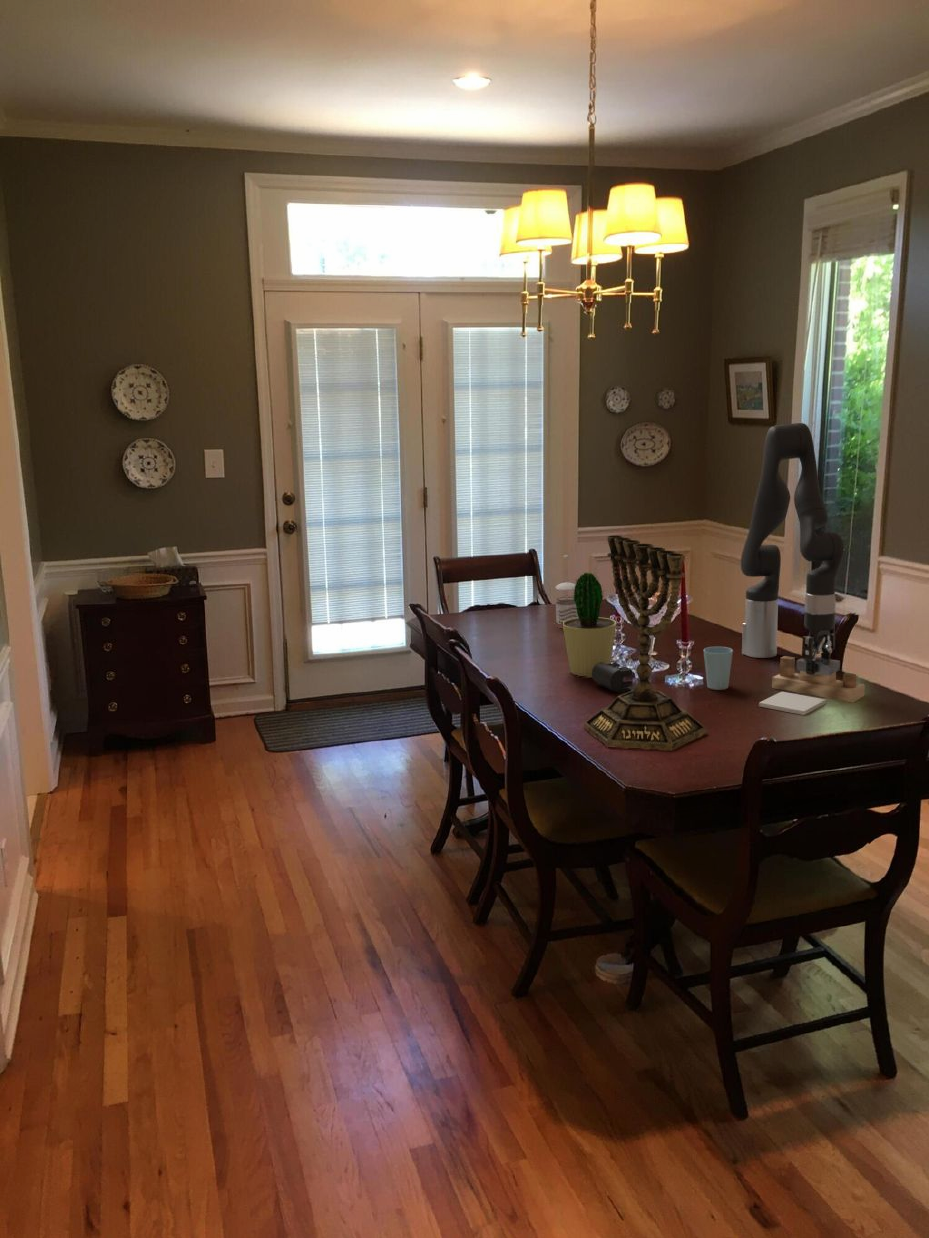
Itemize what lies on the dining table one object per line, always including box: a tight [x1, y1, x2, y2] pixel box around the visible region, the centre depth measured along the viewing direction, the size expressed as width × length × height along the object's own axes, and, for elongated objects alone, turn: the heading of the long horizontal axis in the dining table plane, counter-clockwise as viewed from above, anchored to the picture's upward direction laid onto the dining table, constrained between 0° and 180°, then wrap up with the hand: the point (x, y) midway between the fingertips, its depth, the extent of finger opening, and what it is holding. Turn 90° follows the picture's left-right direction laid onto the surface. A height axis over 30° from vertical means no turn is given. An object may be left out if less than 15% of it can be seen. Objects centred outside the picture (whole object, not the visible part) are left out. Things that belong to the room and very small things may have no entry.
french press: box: [554, 554, 579, 624], centre depth 349 cm, size 10×12×25 cm
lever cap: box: [795, 656, 841, 675], centre depth 263 cm, size 9×6×3 cm, turn 46°
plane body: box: [771, 655, 866, 703], centre depth 264 cm, size 22×7×8 cm, turn 46°
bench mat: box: [758, 691, 827, 716], centre depth 255 cm, size 12×12×1 cm
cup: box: [703, 646, 734, 691], centre depth 271 cm, size 8×8×10 cm
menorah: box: [583, 534, 708, 751], centre depth 235 cm, size 36×25×45 cm
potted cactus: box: [563, 572, 617, 678], centre depth 289 cm, size 15×15×30 cm
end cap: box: [591, 662, 633, 694], centre depth 274 cm, size 10×7×7 cm
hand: (817, 670), depth 263 cm, fingers open, 8 cm apart
